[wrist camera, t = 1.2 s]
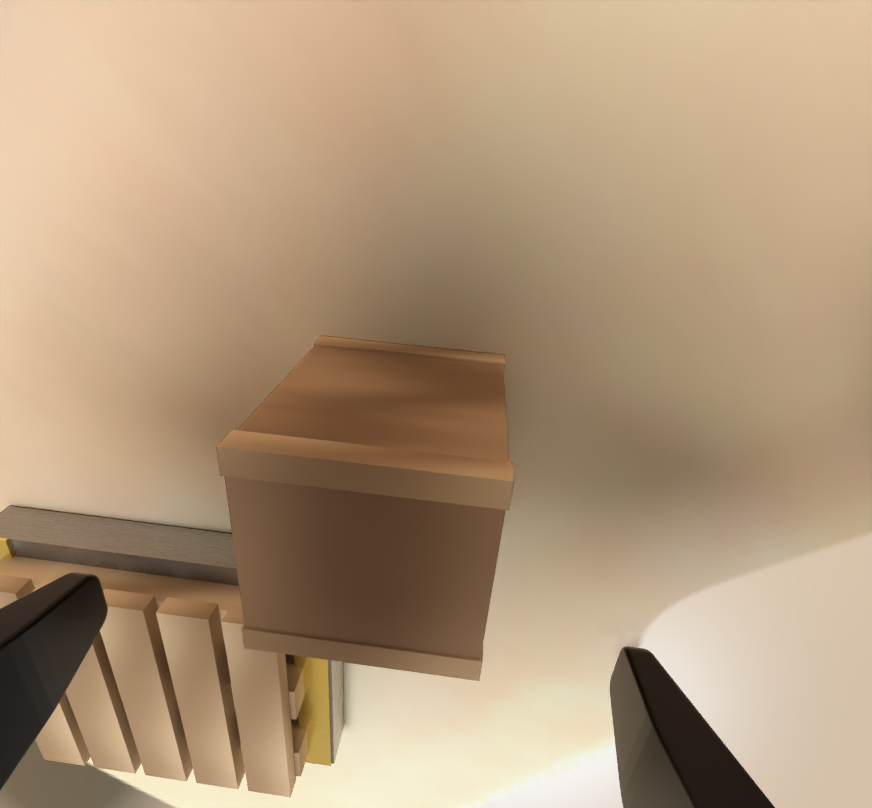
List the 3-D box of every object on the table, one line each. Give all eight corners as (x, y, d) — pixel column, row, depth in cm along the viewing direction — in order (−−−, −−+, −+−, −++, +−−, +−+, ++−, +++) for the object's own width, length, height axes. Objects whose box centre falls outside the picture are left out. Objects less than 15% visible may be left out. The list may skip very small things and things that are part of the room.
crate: (504, 354, 14) (513, 481, 8) (482, 504, 16) (479, 680, 11) (321, 335, 14) (216, 446, 9) (325, 485, 16) (244, 648, 11)
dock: (341, 547, 17) (328, 583, 16) (343, 726, 22) (333, 765, 20) (9, 505, 18) (-33, 535, 17) (76, 687, 22) (48, 723, 21)
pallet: (299, 587, 16) (281, 629, 15) (309, 752, 20) (295, 797, 19) (3, 549, 17) (-41, 585, 15) (70, 717, 21) (39, 758, 19)
